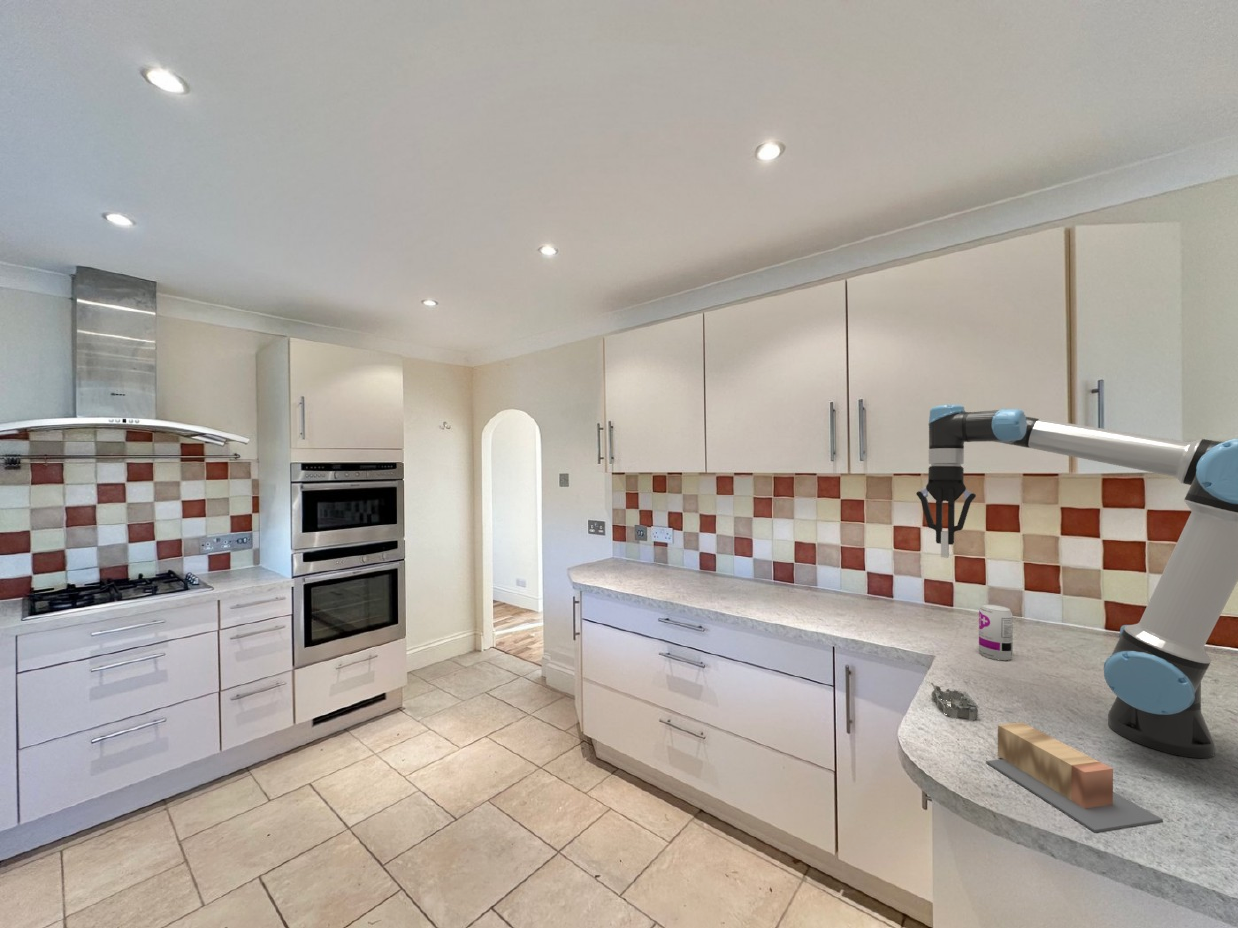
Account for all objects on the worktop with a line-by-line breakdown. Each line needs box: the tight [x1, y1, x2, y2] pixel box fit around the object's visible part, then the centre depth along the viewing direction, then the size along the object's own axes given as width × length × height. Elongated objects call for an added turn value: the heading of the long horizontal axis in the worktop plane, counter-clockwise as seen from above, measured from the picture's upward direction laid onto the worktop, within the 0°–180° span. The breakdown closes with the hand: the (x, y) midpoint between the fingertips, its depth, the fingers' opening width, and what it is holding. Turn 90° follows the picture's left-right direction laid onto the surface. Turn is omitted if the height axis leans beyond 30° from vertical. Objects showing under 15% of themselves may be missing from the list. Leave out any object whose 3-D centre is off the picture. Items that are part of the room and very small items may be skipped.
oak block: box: [997, 722, 1114, 809], centre depth 88 cm, size 6×6×15 cm
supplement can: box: [978, 603, 1014, 661], centre depth 148 cm, size 8×8×15 cm
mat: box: [985, 758, 1164, 834], centre depth 85 cm, size 18×14×1 cm
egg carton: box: [930, 682, 980, 722], centre depth 114 cm, size 11×8×4 cm
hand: (944, 556), depth 124 cm, fingers closed
